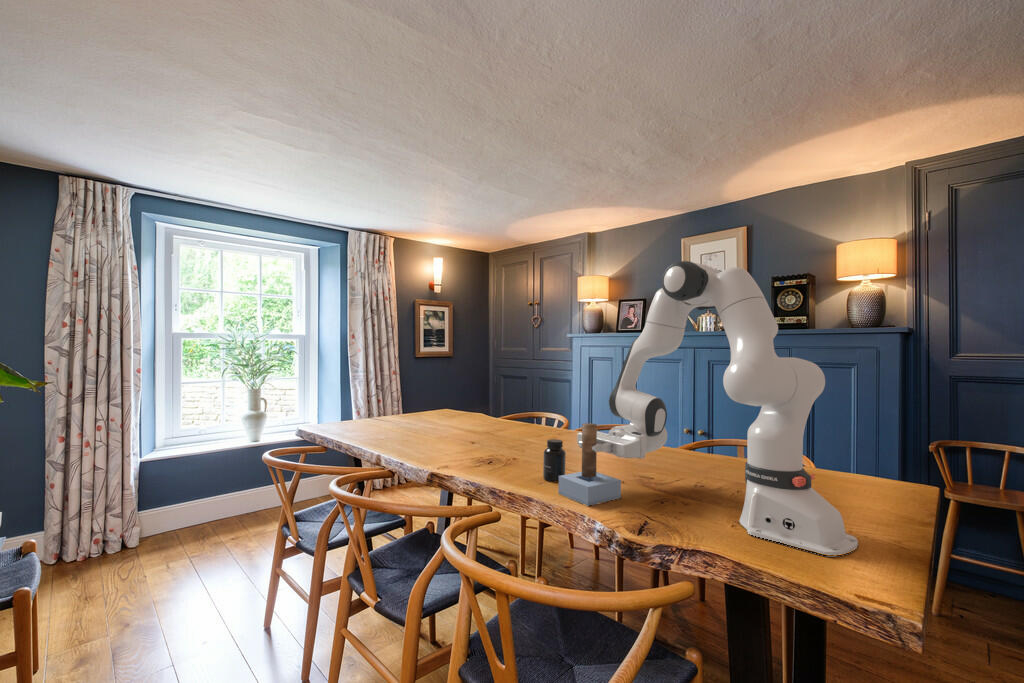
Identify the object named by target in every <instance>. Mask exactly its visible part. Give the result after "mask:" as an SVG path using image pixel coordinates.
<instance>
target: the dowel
mask: <svg viewBox="0 0 1024 683" xmlns="http://www.w3.org/2000/svg"><path fill="white" fill-rule="evenodd" d="M597 431H598V425H597V424H596V423H588V422H587V423H582V425H581V432H582V448H581V472H582V476H584V477H596V472H597V456H598V455H597V453H598V452H594V451H592V445H595V444H597Z"/></svg>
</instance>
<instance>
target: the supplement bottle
mask: <svg viewBox="0 0 1024 683" xmlns="http://www.w3.org/2000/svg"><path fill="white" fill-rule="evenodd" d="M563 446H564V445H563V440H561V439H559V438H558V439H556V438H552V439H551V438H550V439H547V441H546V447H547V448H545V449H544V451H543V464H542V466H543V471H542V473H543V474H542V475H543V476H542V478H543V479H544V480H545V481H547V482H550V481H559V476H561V475H566V461H567V460H566V458H567V456H566V454H567V453H566V451H565V449H563Z"/></svg>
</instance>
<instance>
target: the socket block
mask: <svg viewBox="0 0 1024 683" xmlns="http://www.w3.org/2000/svg"><path fill="white" fill-rule="evenodd" d="M560 494H561V496H562V495H563V496H562V497H565V496H566V497H565V498H567V497H568V498H567V499H569V498H570V499H569V500H572V499H573V500H572V501H574V500H575V501H574V502H576V501H577V502H576V503H578V502H580V503H579V504H581V503H582V505H583V504H585V505H587V506H586V507H590V506H589V505H592V506H595V505H594V504H596V505H599V504H598V503H600V504H602V503H601V502H604V503H607V502H606V501H609V502H611V501H610V500H613V501H616V500H615V499H617V500H619V498H621V499H622V479H619V478H616V477H614V476H610V475H607V474H604V473H601V472H598V471H596V477H584V476H582V471H578V472H574V473H573V472H572V473H568V474H566V473H565V475H561V476H559V482H558V495H560ZM585 505H584V506H585Z"/></svg>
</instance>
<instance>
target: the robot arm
mask: <svg viewBox="0 0 1024 683" xmlns="http://www.w3.org/2000/svg"><path fill="white" fill-rule="evenodd" d="M661 287H662V288H659V289H658V290H657V291H656V292H655V294H654V297H653V299H652V300H651V304H650V306H649V310H648V312H647V316H646V319H645V320H646V321H645V325H644V327H643V329H642V332H641V333H640V335H639V336H638V337H636V338H635V339H634V340H633V341H632V343H631V344H630V347H629V349H628V351H627V354H626V357H625V359H624V362H623V365H622V367H621V370H620V372H619V376H618V378H617V380H616V381H617V382H616V383H615V386H614V388H613V389H612V390H611V393H610V394H609V398H608V406H609V409H610V412H611V414H613V416H615V417H617V418H621V419H624V420H628V421H629V422H630V423H629V424H625V425H618V426H617V425H616V426H613V427H612V428H611V429H609V431H608V433H606V432H602V431H598V430H597V444H595V445H592V451H594V452H597V453H599V452H600V453H607V454H610V455H613V456H616V457H617V458H625V459H640V460H641V459H645V458H646V454H647V453H651V452H655V451H657V450H659V449H661V448H662V447H664V446H665V444H666V443H667V439H668V431H667V429H666V427H665V426H666V423H667V419H668V412H667V406H666V403H665V402H664V401H663V399H661V398H660V397H657V396H654V395H652V394H649V393H645V392H642V390H641V391H640V390H637V387H636V386H637V382H638V380H639V378H640V374H641V371H642V369H643V366H644V365H645V363H646V362H647V361H648V360H649V359H652V358H655V357H662V356H666V355H669V354H671V353H673V352H675V351H676V350H677V349H678V348H679V347H680V346H681V344H682V342H683V338H684V335H685V330H686V325H687V321H688V316H689V314H690V312H691V311H693V310H694V309H697V310H698V311H703V310H708V309H709V310H710V309H716V311H717V315H718V317H719V319H720V322H721V325H722V327H723V330H724V332H725V334H726V335H725V336H726V338H727V339H728V343H729V349H730V363H729V365H728V366H727V367H726V369H725V371H724V373H723V377H722V378H723V380H722V383H723V388H724V391H725V393H726V395H727V396H728V397H729V398H730V399H731V400H732V401H734V402H736V403H738V404H743V405H748V406H753V407H761V408H760V409H759V410H760V411H759V413H758V416H756V419H755V420H754V421H753V422H752V423H751V424H750V426H749V427H748V429H747V434H746V435H747V436H746V437H747V443H746V444H747V446H746V447H747V448H746V450H747V451H746V452H747V456H746V458H747V460H746V462H745V463H744V464H745V465H744V468H745V469H744V477H745V478H744V479H745V480H744V481H745V484H746V488H745V495H744V504H743V507H742V512H741V514H740V518H739V521H738V522H739V524H740V525H741V526H742V527H744V529H745V530H746V533H747V532H748V533H747V534H748V535H749V534H750V535H749V536H751V535H753V536H752V537H755V536H756V538H758V537H760V538H759V539H762V538H764V539H763V540H765V539H768V540H767V541H769V540H772V541H771V542H773V541H776V542H780V543H784V544H787V545H791V546H795V547H798V548H803V549H806V550H810V551H814V552H817V553H821V554H826V555H839V554H844V553H848V552H850V551H852V550H854V549H856V548H857V546H858V547H859V541H858V539H857V537H856V536H854V535H850V534H849V533H846V530H845V523H844V518H843V516H842V513H841V512H840V511H839V510H838V508H836V507H835V506H834V505H832V504H831V503H830V502H829V501H828V500H826V499H825V498H824V497H823V496H822V495H821V494H819V492H817V491H816V490H815V489H814V488H813V487H812V480H815V479H816V478H815V476H816V474H815V473H812V474H809V473H808V472H807V471H806V470H805V468H804V467H803V455H804V454H803V451H804V434H805V428H806V424H807V421H808V418H809V415H810V412H811V409H812V406H813V405H814V403H815V401H816V399H818V398H819V397H820V395H822V393H823V392H824V389H825V386H826V376H825V374H824V372H823V370H822V369H821V368H820V367H819V365H818V364H816V363H814V362H812V361H809V360H806V359H803V358H799V357H794V356H793V357H792V356H791V357H790V356H789V357H786V356H785V357H783V356H782V357H780V356H778V355H777V353H776V351H775V346H774V338H776V336H777V335H778V332H779V324H778V323H777V321H776V318H775V317H774V313H773V312H772V310H771V308H770V306H769V304H768V301H767V299H766V298H765V295H764V294H763V292H762V290H761V288H760V287H759V285H758V283H757V282H756V281H755V279H754V278H753V277H752V275H751V274H750V273H749V272H748V271H747V270H746V269H745V268H742V267H737V266H736V267H734V266H733V267H729V268H726V269H723V270H721V269H720V270H719V269H716V268H714V267H712V266H709V265H707V264H702V263H697V262H693V261H688V260H680V261H675V262H673V263H671V264H670V265H668V266H667V268H666V269H665V271H664V272H663V275H662V278H661ZM576 443H577V445H578V448H581V449H582V431H579V432H578V433H577V434H576ZM776 542H775V543H776ZM780 543H779V544H780ZM787 545H786V546H787ZM791 546H790V547H791ZM798 548H797V549H798ZM857 549H858V548H857ZM857 549H856V550H857Z"/></svg>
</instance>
